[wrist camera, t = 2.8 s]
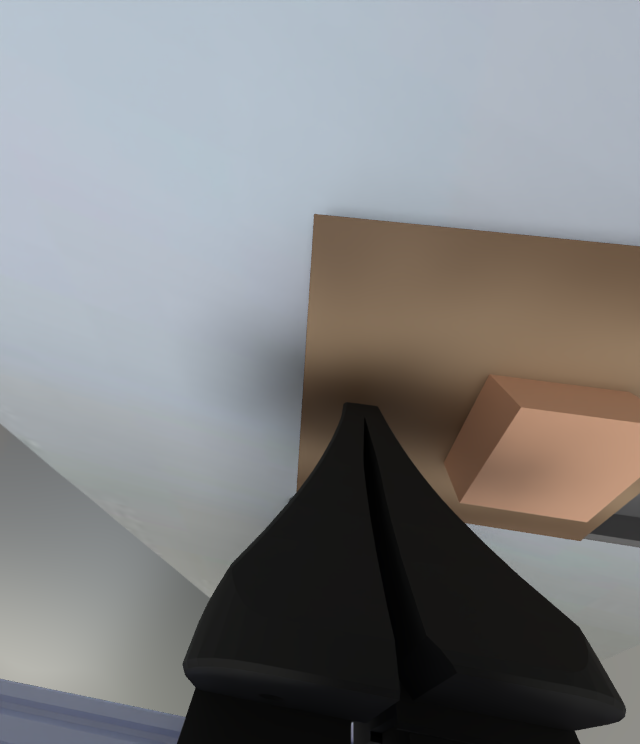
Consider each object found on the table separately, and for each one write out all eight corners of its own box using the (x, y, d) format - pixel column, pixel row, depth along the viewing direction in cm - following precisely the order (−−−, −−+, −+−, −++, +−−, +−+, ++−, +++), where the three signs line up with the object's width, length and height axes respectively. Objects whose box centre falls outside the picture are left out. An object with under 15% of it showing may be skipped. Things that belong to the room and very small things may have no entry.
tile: (551, 478, 12) (586, 522, 10) (443, 462, 12) (459, 503, 10) (629, 391, 9) (694, 430, 7) (489, 374, 9) (521, 407, 8)
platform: (543, 491, 16) (580, 541, 14) (304, 455, 17) (296, 496, 14) (752, 261, 9) (912, 273, 6) (323, 218, 10) (313, 214, 7)
